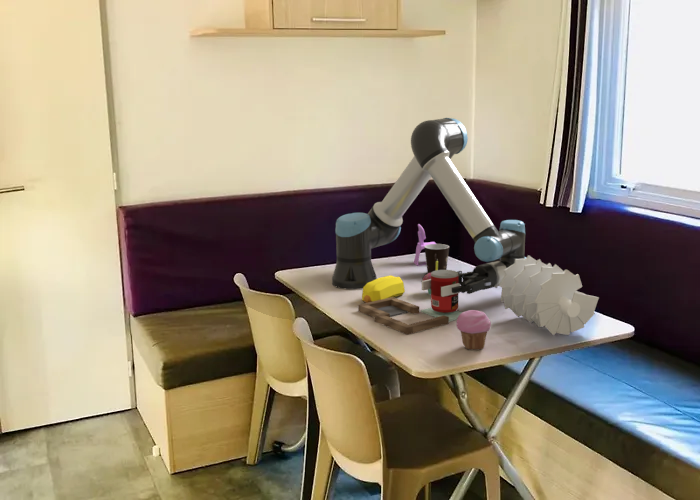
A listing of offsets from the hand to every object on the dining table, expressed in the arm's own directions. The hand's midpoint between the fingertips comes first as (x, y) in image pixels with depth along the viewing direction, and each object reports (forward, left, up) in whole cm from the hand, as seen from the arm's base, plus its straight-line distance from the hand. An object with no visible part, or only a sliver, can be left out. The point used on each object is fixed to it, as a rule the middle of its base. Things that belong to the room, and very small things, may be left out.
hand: (432, 288), depth 225 cm
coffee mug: (-36, +32, -9) cm, 49 cm away
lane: (-6, -8, -9) cm, 13 cm away
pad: (0, +5, -9) cm, 10 cm away
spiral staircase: (+25, +20, -9) cm, 33 cm away
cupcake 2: (+26, -8, -9) cm, 29 cm away
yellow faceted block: (-25, +1, -9) cm, 26 cm away
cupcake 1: (-18, +17, -9) cm, 26 cm away
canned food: (0, +5, -7) cm, 9 cm away
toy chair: (-51, +41, -9) cm, 66 cm away
